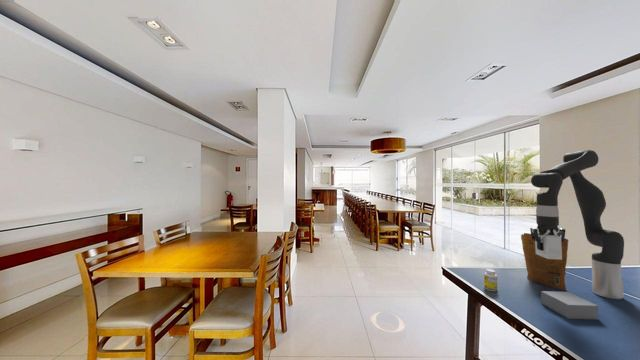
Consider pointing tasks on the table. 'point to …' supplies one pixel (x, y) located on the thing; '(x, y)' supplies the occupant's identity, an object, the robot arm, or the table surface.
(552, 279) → the pancake mix bag
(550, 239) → the small box
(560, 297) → the base block
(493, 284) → the supplement bottle
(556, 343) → the table surface
